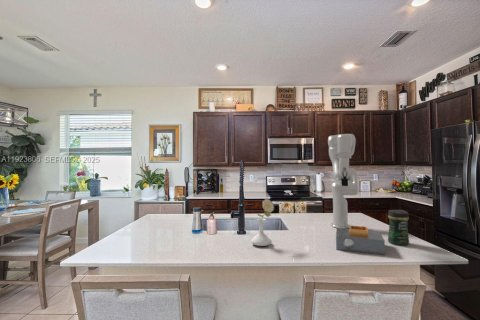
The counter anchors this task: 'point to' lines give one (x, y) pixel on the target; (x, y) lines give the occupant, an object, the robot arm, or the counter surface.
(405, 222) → the coffee jar
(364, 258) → the counter surface
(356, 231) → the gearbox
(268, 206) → the flower in vase
